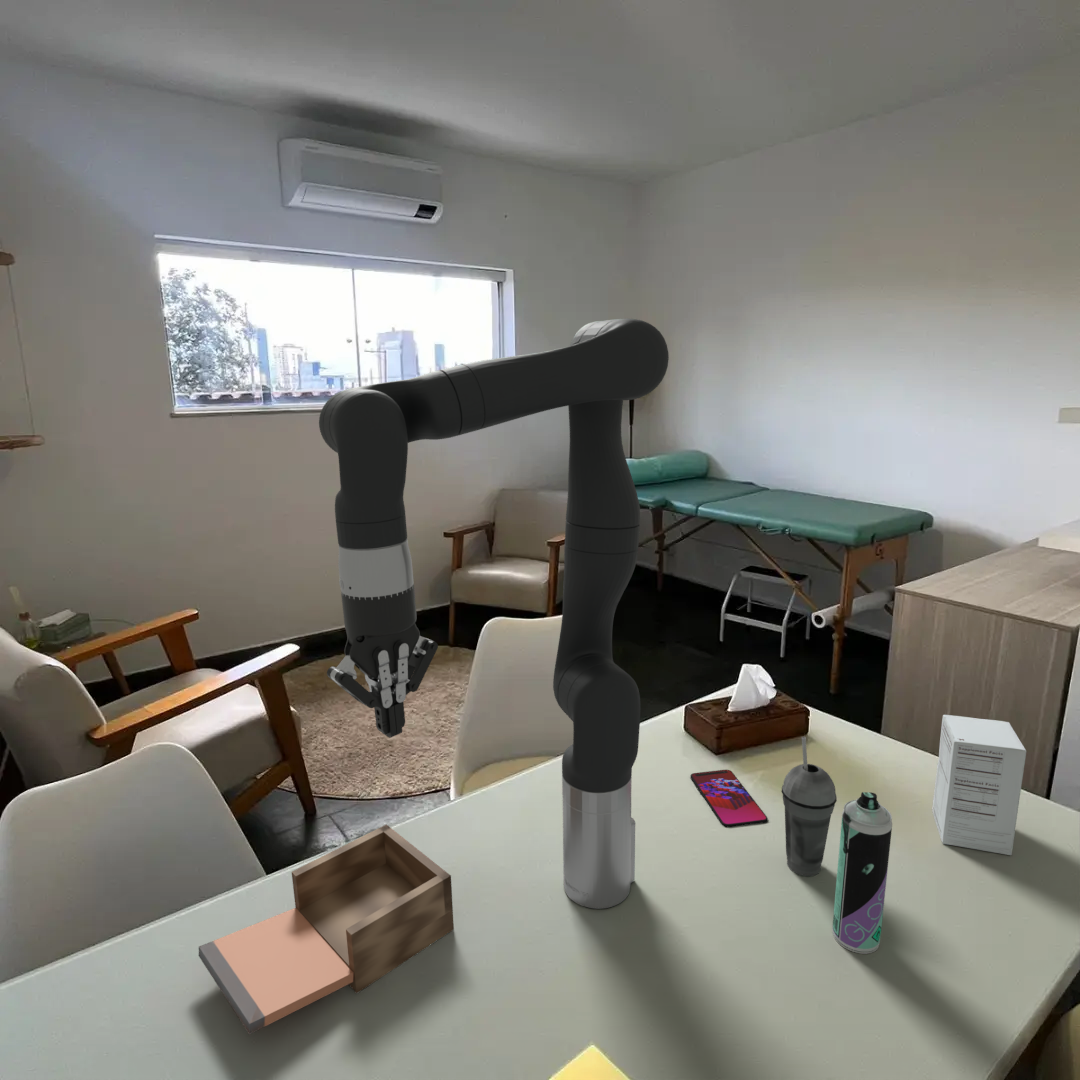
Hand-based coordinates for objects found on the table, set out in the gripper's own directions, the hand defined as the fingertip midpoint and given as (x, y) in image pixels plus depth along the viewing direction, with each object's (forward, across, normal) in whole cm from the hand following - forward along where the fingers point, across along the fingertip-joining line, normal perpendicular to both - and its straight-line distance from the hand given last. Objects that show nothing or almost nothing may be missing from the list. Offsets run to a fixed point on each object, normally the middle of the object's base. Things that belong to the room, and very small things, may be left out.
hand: (391, 732), depth 81 cm
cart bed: (+31, 0, +9) cm, 32 cm away
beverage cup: (+32, +50, -24) cm, 64 cm away
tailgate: (+28, -7, +9) cm, 30 cm away
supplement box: (+33, +75, -38) cm, 90 cm away
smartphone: (+33, +57, -7) cm, 66 cm away
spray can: (+32, +42, -35) cm, 64 cm away
